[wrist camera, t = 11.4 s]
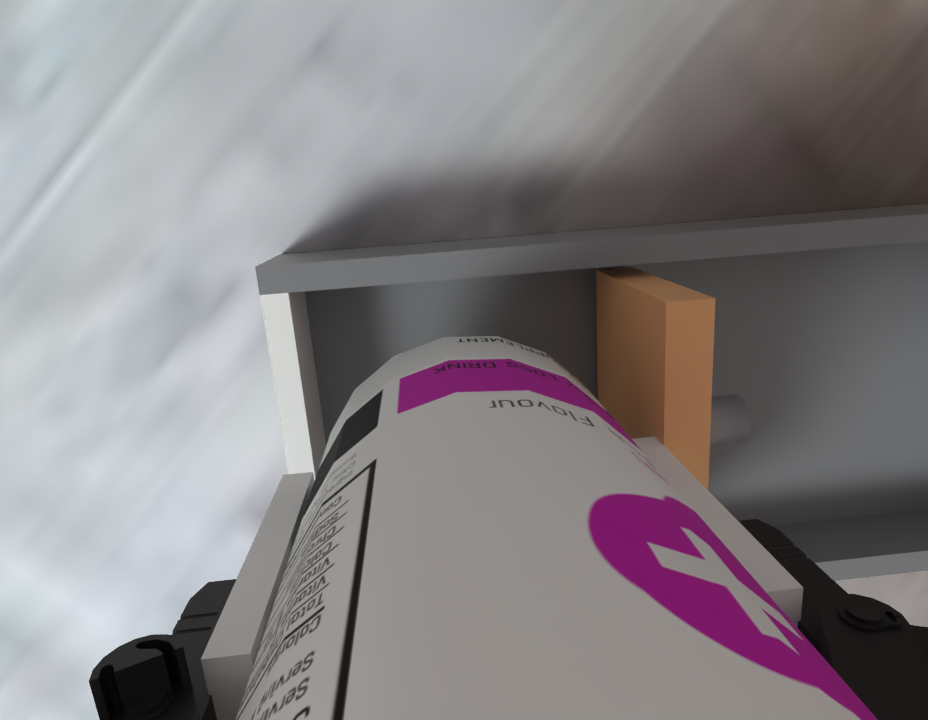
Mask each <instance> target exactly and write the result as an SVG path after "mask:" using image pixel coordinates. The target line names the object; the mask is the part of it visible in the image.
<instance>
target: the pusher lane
mask: <svg viewBox="0 0 928 720" xmlns="http://www.w3.org/2000/svg"><path fill="white" fill-rule="evenodd" d="M628 267H633V268H635V269H638V270H641V271H643V272H646V273H649V274H651V275H654V276H657V277H660V278H662V279H665V280H668V281H670V282H673V283H676V284H678V285H681V286H684V287H687V288H689V289H692V290H695V291H697V292H700V293H703V294H705V295H708V296H711V297H714V298H715V323H714V349H713V376H712V397H715V396H726V395H739V396H741V397H742V398H743V400H744V401H745V403H746V405H747V407H748V410H749V413H750V418H751V432H750V436H749V439H748V440H747V441H746V442H745V443H741V444H731V445H721V446H711V447H710V455H709V481H708V491H709V492H710V493H711V494H712V495H713V496H714V497H715V498H716V499H717V500H718V501H719V502H720V503H721V504H722V505H723V506H724V507H725V508H726V509H727V510H728V511H729V512H730V513H731V514H732V515H733V516H734V517H735V518H736V519H737V520H738V521H742V520H751V519H758V520H760V521H762V522H764V523H766V524H768V525H770V526H772V527H774V528H776V529H778V530H780V531H781V532H782V533H783V534H784V535H785V536H786V537H787V538H788V539H789V540H791V541H792V542H793V543H794V546H795V547H798V548H799V549H800V550H801V551H802V552H803V553H805V554H806V555H807V559H809V558H810V559H811V560H812V561H813V562H814V563H815V564H816V565H817V566H818V567H820V568H821V569H822V570H823V571H824V572H825V573H826V574H827V575H828V576H829V577H830V578H831V579H832V580H834V581H835V580H844V579H853V578H862V577H871V576H880V575H889V574H898V573H907V572H916V571H925V570H928V204H917V205H904V206H891V207H878V208H866V209H853V210H840V211H827V212H814V213H802V214H789V215H776V216H763V217H750V218H738V219H725V220H712V221H699V222H686V223H674V224H661V225H648V226H635V227H622V228H609V229H597V230H584V231H571V232H558V233H545V234H533V235H520V236H507V237H494V238H481V239H469V240H456V241H443V242H430V243H417V244H404V245H392V246H379V247H366V248H353V249H340V250H328V251H315V252H302V253H289V254H280V255H278V256H276V257H274V258H272V259H270V260H268V261H266V262H264V263H262V264H260V265H258V266H256V267H255V268H256V274H257V281H258V287H259V293H260V299H261V306H262V312H263V318H264V324H265V331H266V337H267V343H268V350H269V356H270V362H271V368H272V375H273V381H274V387H275V393H276V400H277V406H278V412H279V418H280V425H281V431H282V437H283V444H284V450H285V456H286V462H287V469H288V474H298V473H307V472H313V475H314V481H315V479H316V476H317V473H318V469H319V466H320V463H321V460H322V457H323V454H324V451H325V448H326V445H327V442H328V439H329V436H330V433H331V431H332V429H333V428H334V426H335V424H336V422H337V420H338V419H339V417H340V415H341V413H342V411H343V410H344V408H345V406H346V404H347V402H348V401H349V399H350V397H351V395H352V393H353V392H354V390H355V389H356V388H357V387H358V386H359V385H360V384H362V383H363V382H364V381H365V380H366V379H367V378H369V377H370V376H371V375H372V374H373V373H375V372H376V371H377V370H378V369H379V368H380V367H382V366H383V365H384V364H385V363H386V362H387V361H389V360H390V359H391V358H392V357H393V356H395V355H398V354H400V353H403V352H406V351H408V350H411V349H414V348H416V347H419V346H422V345H424V344H427V343H429V342H432V341H435V340H437V339H440V338H443V337H472V336H498V337H501V338H504V339H507V340H510V341H513V342H516V343H519V344H522V345H525V346H528V347H531V348H534V349H537V350H540V351H542V352H545V353H547V354H548V355H549V356H550V357H551V358H553V359H554V360H555V361H556V362H558V363H559V364H560V365H561V366H562V367H564V368H565V369H566V370H567V371H568V372H570V373H571V374H572V375H573V376H574V377H576V378H577V379H578V380H579V381H581V382H582V383H583V384H584V385H585V386H586V387H587V389H588V390H589V391H590V392H591V393H592V394H593V395H594V397H595V398H596V399H597V400H598V382H597V309H596V270H604V269H616V268H628Z"/></svg>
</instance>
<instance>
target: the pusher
mask: <svg viewBox="0 0 928 720" xmlns="http://www.w3.org/2000/svg"><path fill="white" fill-rule="evenodd" d="M596 309H597V382H598V401H599V402H600V403H601V405H602V406H603V407H604V408H605V409H606V410H607V411H608V413H609V414H610V415H611V416H612V417H613V418H614V419H615V421H616V422H617V423H618V424H619V425H620V426H621V427H622V429H623V430H624V431H625V432H626V433H627V434H628V435H629V437H630V438H631V439H634V438H644V437H654V436H655V437H656V438H657V439H658V440H659V441H660V442H661V443H662V444H663V445H664V446H665V447H666V448H667V449H668V450H669V451H670V452H671V453H672V454H673V455H674V456H675V457H676V458H677V459H678V460H679V461H680V462H681V463H682V464H683V465H684V466H685V467H686V468H687V469H688V470H689V471H690V473H691V474H692V475H693V476H694V477H695V478H696V479H697V480H698V481H699V482H700V483H701V484H702V485H703V486H704V487H705V488H706V489H707V490H708V481H709V455H710V447H711V446H721V445H731V444H741V443H745V442H746V441H747V440H748V439H749V436H750V432H751V418H750V413H749V410H748V407H747V405H746V403H745V401H744V400H743V398H742V397H741V396H739V395H726V396H715V397H712V376H713V349H714V323H715V298H714V297H711V296H708V295H705V294H703V293H700V292H697V291H695V290H692V289H689V288H687V287H684V286H681V285H678V284H676V283H673V282H670V281H668V280H665V279H662V278H660V277H657V276H654V275H651V274H649V273H646V272H643V271H641V270H638V269H635V268H633V267H628V268H616V269H604V270H596Z"/></svg>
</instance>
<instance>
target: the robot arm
mask: <svg viewBox="0 0 928 720" xmlns="http://www.w3.org/2000/svg"><path fill="white" fill-rule="evenodd" d="M632 440H633V441H634V442H635V443H636V444H637V446H638V447H639V448H640V449H641V450H642V451H643V452H644V454H645V455H646V456H647V457H648V458H649V459H650V460H651V462H652V463H653V464H654V465H655V466H656V467H657V468H658V470H659V471H660V472H661V473H662V474H663V475H664V476H665V478H666V479H667V480H668V481H669V482H670V483H671V484H672V486H673V487H674V488H675V489H676V490H677V491H678V492H679V494H680V495H681V496H682V497H683V498H684V499H685V500H686V501H687V503H688V504H689V505H690V506H691V507H692V508H693V509H694V511H695V512H696V513H697V514H698V515H699V516H700V517H701V519H702V520H703V521H704V522H705V523H706V524H707V525H708V527H709V528H710V529H711V530H712V531H713V532H714V533H715V535H716V536H717V537H718V538H719V539H720V540H721V541H722V543H723V544H724V545H725V546H726V547H727V548H728V549H729V551H730V552H731V553H732V554H733V555H734V556H735V557H736V558H737V560H738V561H739V562H740V563H741V564H742V565H743V566H744V568H745V569H746V570H747V571H748V572H749V573H750V574H751V576H752V577H753V578H754V579H755V580H756V581H757V582H758V584H759V585H760V586H761V587H762V588H763V589H764V590H765V592H766V593H767V594H768V595H769V596H770V597H771V598H772V600H773V601H774V602H775V603H776V604H777V605H778V606H779V608H780V609H781V610H782V611H783V612H784V613H785V614H786V616H787V617H788V618H789V619H790V620H791V621H792V622H793V623H794V625H795V626H796V627H797V628H798V629H799V630H800V631H801V633H802V634H803V635H804V636H805V637H806V638H807V639H808V641H809V642H810V643H811V644H812V645H813V646H814V647H815V649H816V650H817V651H818V652H819V653H820V654H821V655H822V657H823V658H824V659H825V660H826V661H827V662H828V663H829V665H830V666H831V667H832V668H833V669H834V670H835V671H836V673H837V674H838V675H839V676H840V677H841V678H842V679H843V680H844V682H845V683H846V684H847V685H848V686H849V687H850V688H851V690H852V691H853V692H854V693H855V694H856V695H857V696H858V698H859V699H860V700H861V701H862V702H863V703H864V704H865V706H866V707H867V708H868V709H869V710H870V711H871V712H872V714H873V715H874V716H875V717H876V718H877V719H878V720H928V627H920V626H913V625H910V624H909V623H908V622H907V620H906V619H905V618H904V616H903V615H902V614H901V613H899V612H898V611H896V610H895V609H893V608H892V607H891V606H889V605H887V604H885V603H882V602H880V601H878V600H875V599H873V598H869V597H865V596H860V595H856V594H848V593H846V592H845V591H844V590H843V589H842V588H841V587H840V586H839V585H838V584H837V583H836V582H835V581H834V580H832V579H831V578H830V577H829V576H828V575H827V574H826V573H825V572H824V571H823V570H822V569H821V568H820V567H818V566H817V565H816V564H815V563H814V562H813V561H812V560H811V559H810V558H809V559H807V555H806V554H805V553H803V552H802V551H801V550H800V549H799V548H798V547H795V546H794V543H793V542H792V541H791V540H789V539H788V538H787V537H786V536H785V535H784V534H783V533H782V532H781V531H780V530H778V529H776V528H774V527H772V526H770V525H768V524H766V523H764V522H762V521H760V520H758V519H751V520H742V521H738V520H737V519H736V518H735V517H734V516H733V515H732V514H731V513H730V512H729V511H728V510H727V509H726V508H725V507H724V506H723V505H722V504H721V503H720V502H719V501H718V500H717V499H716V498H715V497H714V496H713V495H712V494H711V493H710V492H709V491H708V490H707V489H706V488H705V487H704V486H703V485H702V484H701V483H700V482H699V481H698V480H697V479H696V478H695V477H694V476H693V475H692V474H691V473H690V471H689V470H688V469H687V468H686V467H685V466H684V465H683V464H682V463H681V462H680V461H679V460H678V459H677V458H676V457H675V456H674V455H673V454H672V453H671V452H670V451H669V450H668V449H667V448H666V447H665V446H664V445H663V444H662V443H661V442H660V441H659V440H658V439H657V438H656V437H655V436H654V437H644V438H634V439H632ZM314 482H315V481H314V475H313V472H307V473H298V474H288V475H283V477H282V479H281V481H280V483H279V486H278V488H277V490H276V492H275V494H274V497H273V499H272V501H271V503H270V506H269V508H268V510H267V512H266V515H265V517H264V519H263V521H262V524H261V526H260V528H259V530H258V532H257V535H256V537H255V539H254V541H253V544H252V546H251V548H250V550H249V553H248V555H247V557H246V559H245V562H244V564H243V566H242V568H241V570H240V573H239V575H238V577H237V579H233V580H224V581H216V582H208V583H207V584H206V585H205V586H204V587H203V588H202V589H200V590H199V591H198V592H197V593H196V594H195V595H194V596H193V597H192V598H191V599H190V600H189V602H188V604H187V606H186V607H185V609H184V611H183V613H182V615H181V620H178V622H177V624H176V626H175V628H174V630H173V635H149V636H145V637H141V638H137V639H135V640H132V641H130V642H128V643H126V644H124V645H122V646H119V647H118V648H116V649H115V650H114V651H112V652H111V653H109V654H108V655H107V656H105V657H104V658H103V659H102V660H101V661H100V662H99V663H98V665H97V666H96V667H95V668H94V669H93V671H92V674H91V677H90V680H89V683H90V687H91V690H92V694H93V697H94V701H95V704H96V708H97V711H98V715H99V718H100V720H236V717H237V714H238V711H239V708H240V705H241V702H242V699H243V696H244V693H245V690H246V687H247V684H248V681H249V678H250V675H251V672H252V669H253V666H254V663H255V660H256V657H257V654H258V651H259V648H260V645H261V642H262V639H263V636H264V633H265V630H266V627H267V624H268V621H269V618H270V614H271V611H272V608H273V605H274V602H275V599H276V596H277V593H278V590H279V587H280V584H281V581H282V578H283V575H284V572H285V569H286V566H287V563H288V560H289V557H290V554H291V551H292V548H293V545H294V542H295V539H296V536H297V533H298V530H299V527H300V524H301V521H302V518H303V515H304V512H305V509H306V506H307V503H308V500H309V497H310V494H311V491H312V488H313V485H314Z"/></svg>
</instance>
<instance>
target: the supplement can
mask: <svg viewBox="0 0 928 720" xmlns="http://www.w3.org/2000/svg"><path fill="white" fill-rule="evenodd" d="M236 720H878V719H877V718H876V717H875V716H874V715H873V714H872V712H871V711H870V710H869V709H868V708H867V707H866V706H865V704H864V703H863V702H862V701H861V700H860V699H859V698H858V696H857V695H856V694H855V693H854V692H853V691H852V690H851V688H850V687H849V686H848V685H847V684H846V683H845V682H844V680H843V679H842V678H841V677H840V676H839V675H838V674H837V673H836V671H835V670H834V669H833V668H832V667H831V666H830V665H829V663H828V662H827V661H826V660H825V659H824V658H823V657H822V655H821V654H820V653H819V652H818V651H817V650H816V649H815V647H814V646H813V645H812V644H811V643H810V642H809V641H808V639H807V638H806V637H805V636H804V635H803V634H802V633H801V631H800V630H799V629H798V628H797V627H796V626H795V625H794V623H793V622H792V621H791V620H790V619H789V618H788V617H787V616H786V614H785V613H784V612H783V611H782V610H781V609H780V608H779V606H778V605H777V604H776V603H775V602H774V601H773V600H772V598H771V597H770V596H769V595H768V594H767V593H766V592H765V590H764V589H763V588H762V587H761V586H760V585H759V584H758V582H757V581H756V580H755V579H754V578H753V577H752V576H751V574H750V573H749V572H748V571H747V570H746V569H745V568H744V566H743V565H742V564H741V563H740V562H739V561H738V560H737V558H736V557H735V556H734V555H733V554H732V553H731V552H730V551H729V549H728V548H727V547H726V546H725V545H724V544H723V543H722V541H721V540H720V539H719V538H718V537H717V536H716V535H715V533H714V532H713V531H712V530H711V529H710V528H709V527H708V525H707V524H706V523H705V522H704V521H703V520H702V519H701V517H700V516H699V515H698V514H697V513H696V512H695V511H694V509H693V508H692V507H691V506H690V505H689V504H688V503H687V501H686V500H685V499H684V498H683V497H682V496H681V495H680V494H679V492H678V491H677V490H676V489H675V488H674V487H673V486H672V484H671V483H670V482H669V481H668V480H667V479H666V478H665V476H664V475H663V474H662V473H661V472H660V471H659V470H658V468H657V467H656V466H655V465H654V464H653V463H652V462H651V460H650V459H649V458H648V457H647V456H646V455H645V454H644V452H643V451H642V450H641V449H640V448H639V447H638V446H637V444H636V443H635V442H634V441H633V440H632V439H631V438H630V437H629V435H628V434H627V433H626V432H625V431H624V430H623V429H622V427H621V426H620V425H619V424H618V423H617V422H616V421H615V419H614V418H613V417H612V416H611V415H610V414H609V413H608V411H607V410H606V409H605V408H604V407H603V406H602V405H601V403H600V402H599V401H598V400H597V399H596V398H595V397H594V395H593V394H592V393H591V392H590V391H589V390H588V389H587V387H586V386H585V385H584V384H583V383H582V382H581V381H579V380H578V379H577V378H576V377H574V376H573V375H572V374H571V373H570V372H568V371H567V370H566V369H565V368H564V367H562V366H561V365H560V364H559V363H558V362H556V361H555V360H554V359H553V358H551V357H550V356H549V355H548V354H547V353H545V352H542V351H540V350H537V349H534V348H531V347H528V346H525V345H522V344H519V343H516V342H513V341H510V340H507V339H504V338H501V337H498V336H472V337H443V338H440V339H437V340H435V341H432V342H429V343H427V344H424V345H422V346H419V347H416V348H414V349H411V350H408V351H406V352H403V353H400V354H398V355H395V356H393V357H392V358H391V359H390V360H389V361H387V362H386V363H385V364H384V365H383V366H382V367H380V368H379V369H378V370H377V371H376V372H375V373H373V374H372V375H371V376H370V377H369V378H367V379H366V380H365V381H364V382H363V383H362V384H360V385H359V386H358V387H357V388H356V389H355V390H354V392H353V393H352V395H351V397H350V399H349V401H348V402H347V404H346V406H345V408H344V410H343V411H342V413H341V415H340V417H339V419H338V420H337V422H336V424H335V426H334V428H333V429H332V431H331V433H330V436H329V439H328V442H327V445H326V448H325V451H324V454H323V457H322V460H321V463H320V466H319V469H318V473H317V476H316V479H315V482H314V485H313V488H312V491H311V494H310V497H309V500H308V503H307V506H306V509H305V512H304V515H303V518H302V521H301V524H300V527H299V530H298V533H297V536H296V539H295V542H294V545H293V548H292V551H291V554H290V557H289V560H288V563H287V566H286V569H285V572H284V575H283V578H282V581H281V584H280V587H279V590H278V593H277V596H276V599H275V602H274V605H273V608H272V611H271V614H270V618H269V621H268V624H267V627H266V630H265V633H264V636H263V639H262V642H261V645H260V648H259V651H258V654H257V657H256V660H255V663H254V666H253V669H252V672H251V675H250V678H249V681H248V684H247V687H246V690H245V693H244V696H243V699H242V702H241V705H240V708H239V711H238V714H237V717H236Z"/></svg>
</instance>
